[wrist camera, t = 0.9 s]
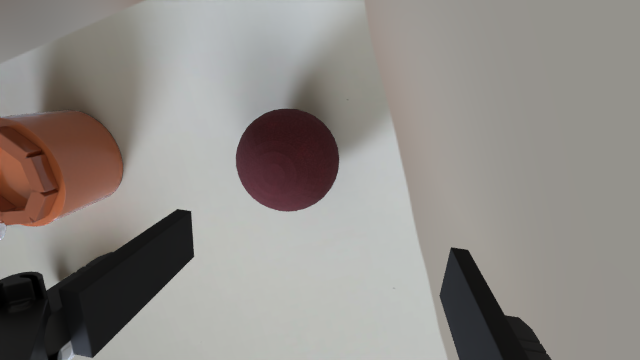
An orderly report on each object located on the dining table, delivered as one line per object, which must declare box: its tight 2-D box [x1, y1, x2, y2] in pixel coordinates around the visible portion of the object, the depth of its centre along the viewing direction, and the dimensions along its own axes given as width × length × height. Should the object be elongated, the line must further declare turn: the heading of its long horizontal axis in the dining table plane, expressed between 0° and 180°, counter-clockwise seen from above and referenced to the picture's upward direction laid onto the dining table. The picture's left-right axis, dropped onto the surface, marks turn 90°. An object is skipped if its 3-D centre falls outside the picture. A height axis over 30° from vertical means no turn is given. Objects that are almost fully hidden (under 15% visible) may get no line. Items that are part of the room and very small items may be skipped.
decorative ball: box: [236, 109, 339, 211], centre depth 31 cm, size 10×10×10 cm
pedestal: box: [0, 110, 123, 226], centre depth 36 cm, size 12×12×10 cm
